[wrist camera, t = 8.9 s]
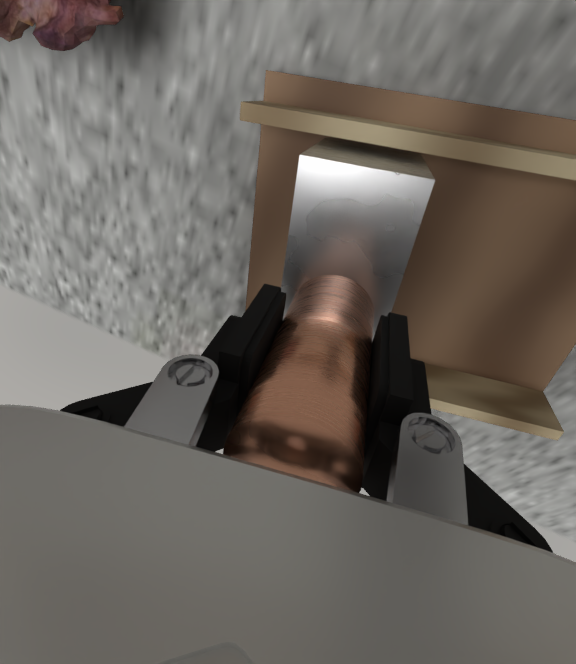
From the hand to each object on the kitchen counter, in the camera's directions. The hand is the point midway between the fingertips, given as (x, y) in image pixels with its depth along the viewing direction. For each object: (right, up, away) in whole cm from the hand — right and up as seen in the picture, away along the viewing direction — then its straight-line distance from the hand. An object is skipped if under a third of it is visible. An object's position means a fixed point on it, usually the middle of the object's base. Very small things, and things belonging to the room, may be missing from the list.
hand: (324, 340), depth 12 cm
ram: (+2, +4, +7) cm, 8 cm away
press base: (+5, +4, +8) cm, 10 cm away
